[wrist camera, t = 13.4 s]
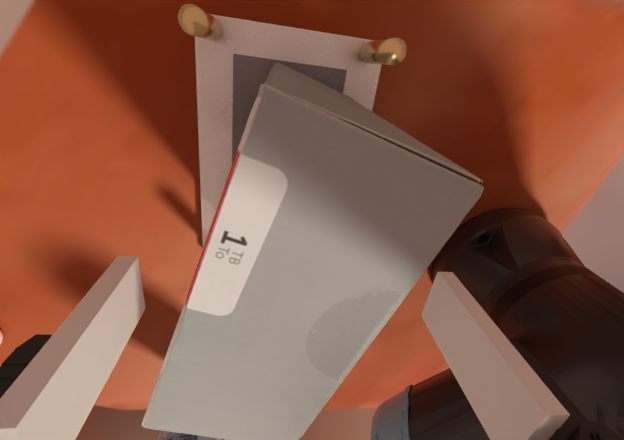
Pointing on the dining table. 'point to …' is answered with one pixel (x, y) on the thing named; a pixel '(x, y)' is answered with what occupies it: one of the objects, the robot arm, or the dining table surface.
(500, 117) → the dining table surface
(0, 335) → the drinking glass
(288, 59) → the mounting plate
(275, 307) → the hard drive box
